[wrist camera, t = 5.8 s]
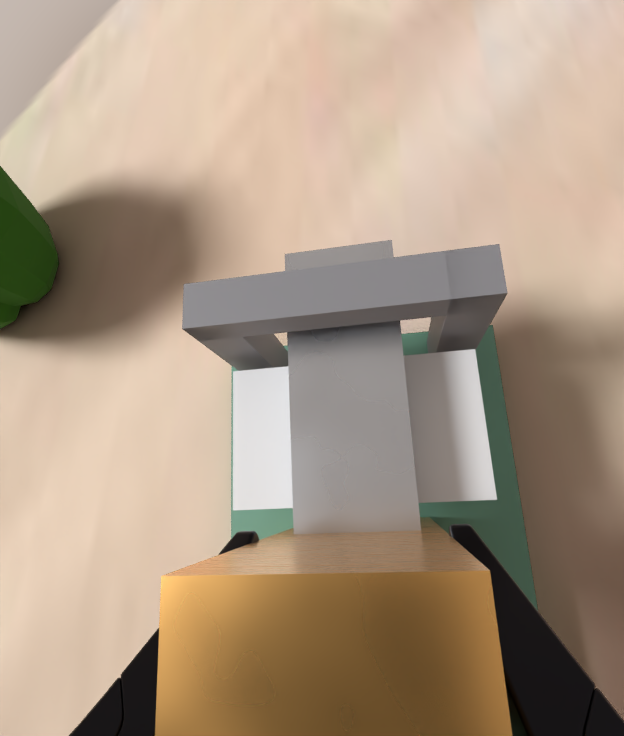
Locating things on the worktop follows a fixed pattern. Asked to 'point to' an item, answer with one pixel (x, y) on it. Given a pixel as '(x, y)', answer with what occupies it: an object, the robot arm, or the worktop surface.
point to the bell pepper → (22, 252)
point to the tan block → (337, 576)
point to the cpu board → (423, 379)
